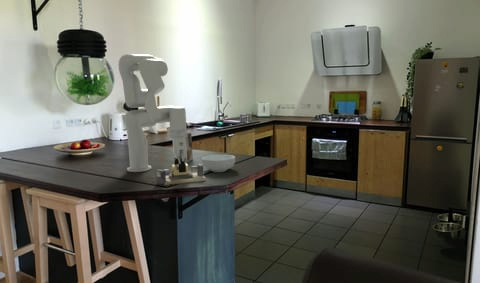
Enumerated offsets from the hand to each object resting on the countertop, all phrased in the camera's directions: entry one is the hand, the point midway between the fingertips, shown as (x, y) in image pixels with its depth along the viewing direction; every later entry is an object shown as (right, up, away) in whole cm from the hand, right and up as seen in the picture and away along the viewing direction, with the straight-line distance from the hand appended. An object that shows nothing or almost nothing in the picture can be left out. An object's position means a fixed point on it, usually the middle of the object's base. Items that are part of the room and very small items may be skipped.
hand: (180, 169), depth 170 cm
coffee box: (-4, +2, +43) cm, 43 cm away
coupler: (0, -4, +1) cm, 4 cm away
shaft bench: (0, -5, +1) cm, 5 cm away
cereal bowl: (+17, -2, +18) cm, 25 cm away
